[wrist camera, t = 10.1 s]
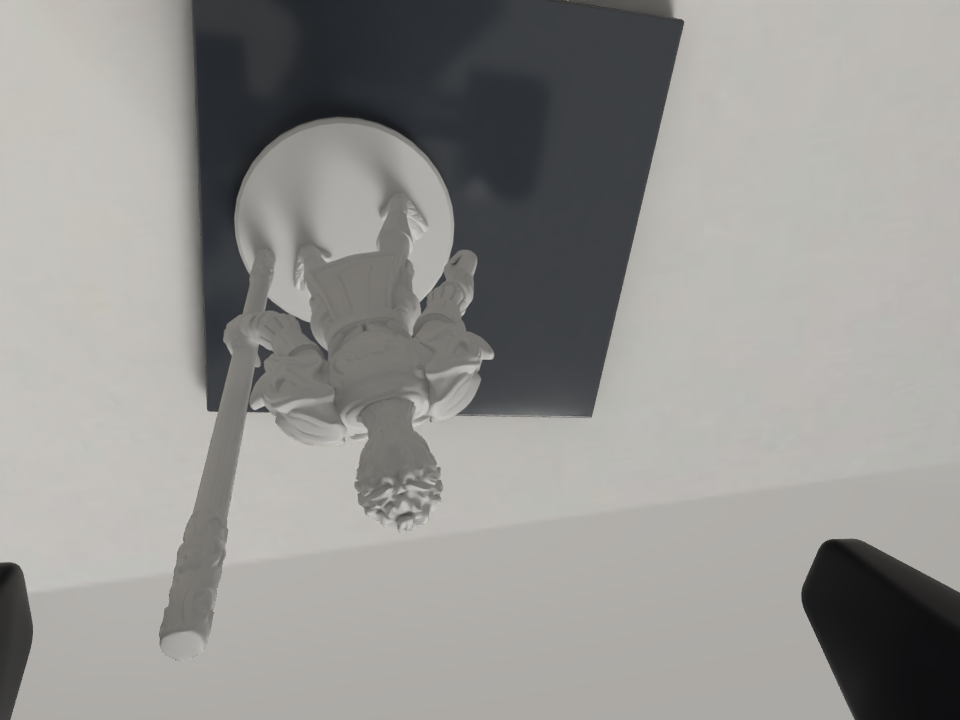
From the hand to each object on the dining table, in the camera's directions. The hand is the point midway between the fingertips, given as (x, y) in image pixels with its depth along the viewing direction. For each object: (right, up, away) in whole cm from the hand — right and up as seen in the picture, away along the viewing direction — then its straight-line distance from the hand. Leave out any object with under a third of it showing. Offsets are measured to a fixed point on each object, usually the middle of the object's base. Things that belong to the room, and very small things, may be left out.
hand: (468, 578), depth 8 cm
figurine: (-3, +6, +10) cm, 12 cm away
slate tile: (-1, +6, +11) cm, 12 cm away
